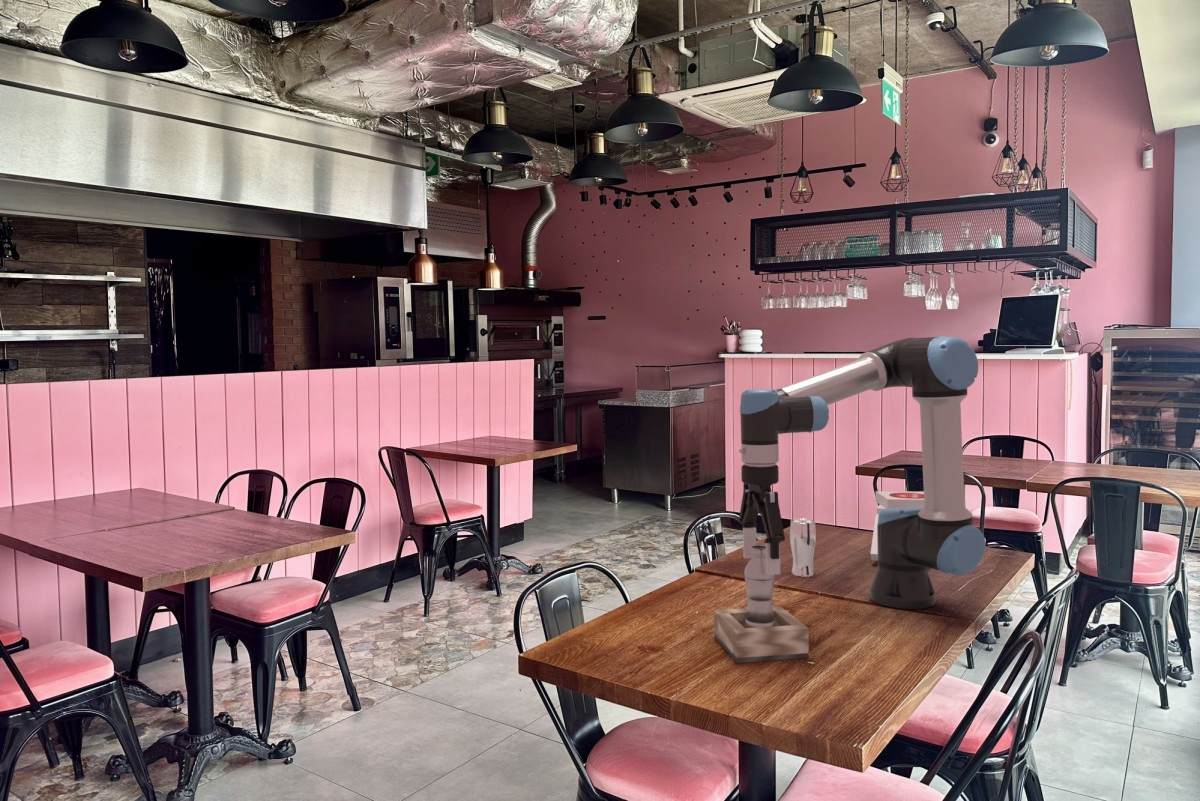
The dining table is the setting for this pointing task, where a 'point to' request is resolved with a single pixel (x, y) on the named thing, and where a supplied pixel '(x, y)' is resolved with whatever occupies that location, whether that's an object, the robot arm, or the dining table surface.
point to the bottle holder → (761, 636)
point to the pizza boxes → (893, 501)
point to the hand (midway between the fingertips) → (761, 565)
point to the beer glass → (802, 546)
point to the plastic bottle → (759, 590)
